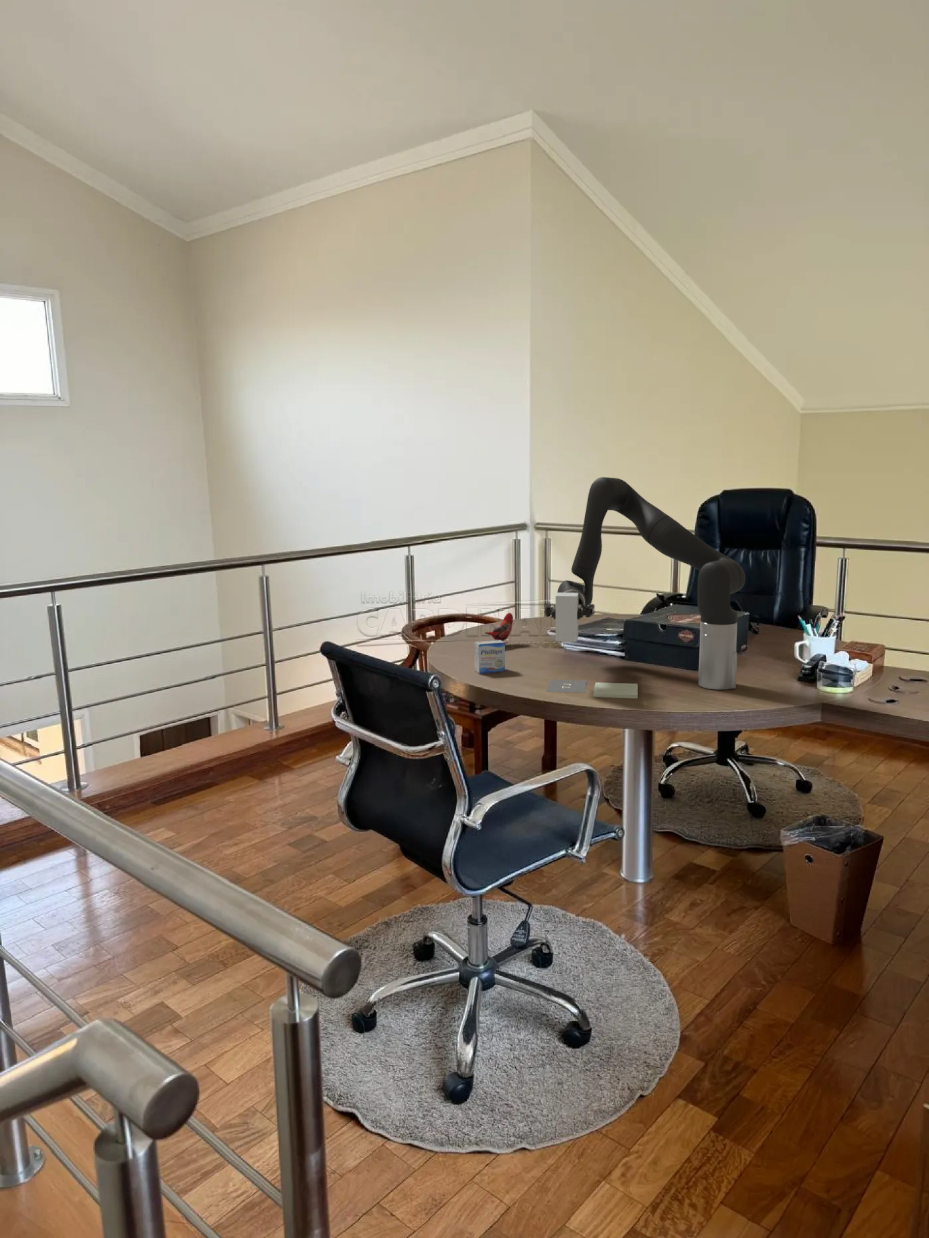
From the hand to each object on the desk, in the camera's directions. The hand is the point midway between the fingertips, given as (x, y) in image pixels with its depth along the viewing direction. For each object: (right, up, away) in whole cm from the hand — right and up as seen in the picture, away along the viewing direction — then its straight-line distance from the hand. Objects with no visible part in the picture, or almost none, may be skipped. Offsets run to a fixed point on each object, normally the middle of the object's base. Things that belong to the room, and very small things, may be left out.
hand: (566, 615), depth 225 cm
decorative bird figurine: (-15, -10, +55) cm, 58 cm away
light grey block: (0, -6, +3) cm, 7 cm away
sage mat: (+13, -20, -1) cm, 24 cm away
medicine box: (-19, -16, +24) cm, 34 cm away
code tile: (+1, -19, +6) cm, 20 cm away
